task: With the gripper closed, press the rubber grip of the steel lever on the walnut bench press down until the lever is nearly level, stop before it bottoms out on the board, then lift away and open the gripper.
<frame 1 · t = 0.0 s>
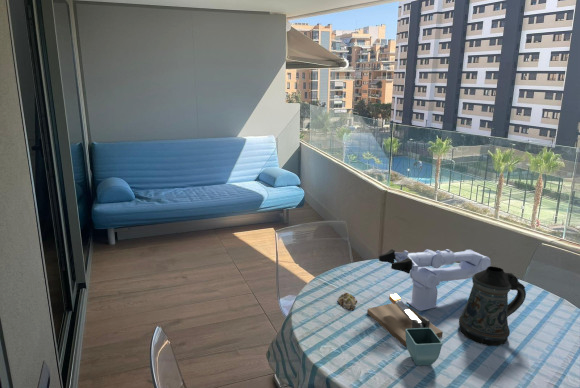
hand: (385, 262, 148), 22 cm above the table, tool horizontal, fingers open, 7 cm apart
beer stein: (485, 332, 142), on the table
flower pot: (420, 361, 126), on the table
press lever: (406, 311, 143), point 6 cm above the table, hinge at 12.0°
mineral rock: (347, 304, 161), on the table
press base: (402, 324, 146), on the table
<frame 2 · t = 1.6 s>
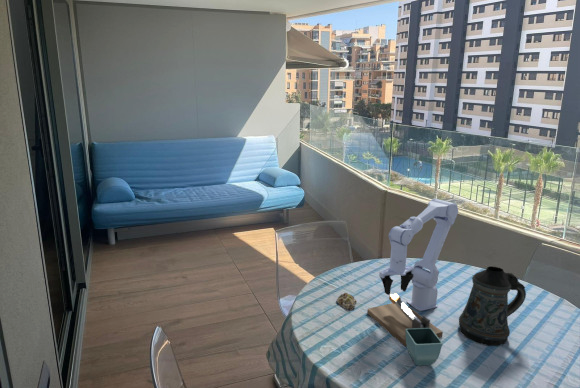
hand: (395, 292, 149), 10 cm above the table, tool pointing down, fingers open, 7 cm apart
nothing on the table moved.
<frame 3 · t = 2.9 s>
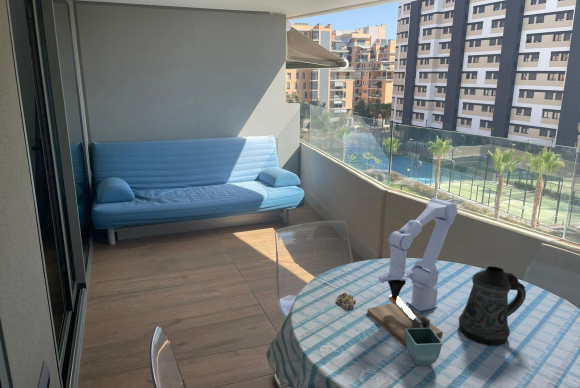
hand: (394, 296, 149), 8 cm above the table, tool pointing down, fingers closed, pressing on press lever
press lever: (406, 311, 143), point 6 cm above the table, hinge at 11.2°, touching gripper
everything else where it was.
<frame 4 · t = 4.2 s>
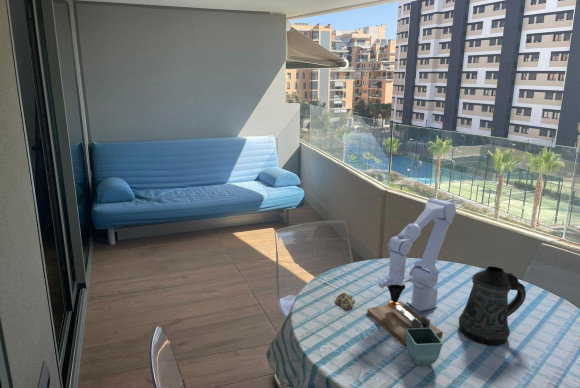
hand: (394, 301, 150), 6 cm above the table, tool pointing down, fingers closed
press lever: (406, 314, 144), point 5 cm above the table, hinge at 1.8°
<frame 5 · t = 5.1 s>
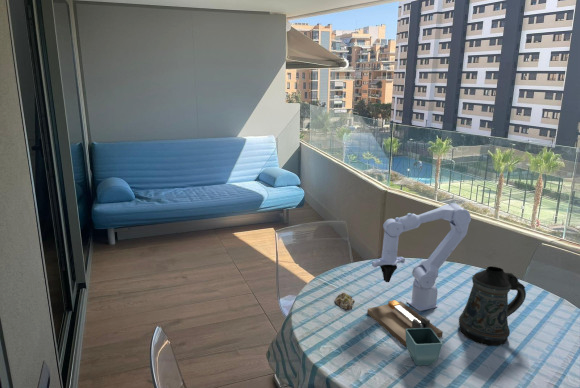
hand: (386, 281, 158), 10 cm above the table, tool pointing down, fingers closed
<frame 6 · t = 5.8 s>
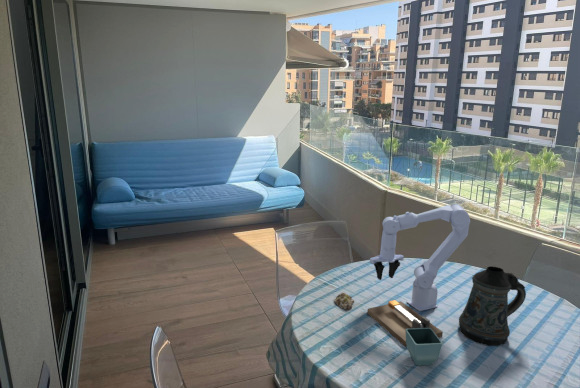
hand: (385, 278, 160), 10 cm above the table, tool pointing down, fingers open, 5 cm apart
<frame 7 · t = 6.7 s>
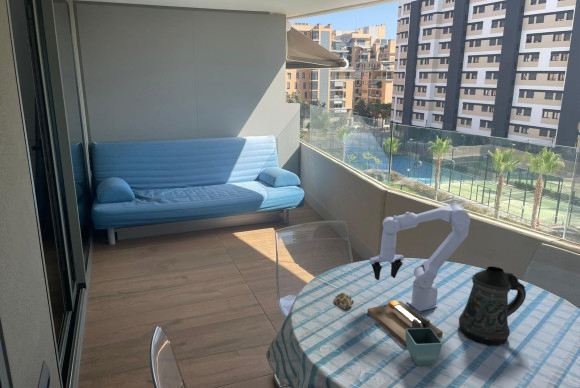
hand: (385, 278, 160), 10 cm above the table, tool pointing down, fingers open, 7 cm apart
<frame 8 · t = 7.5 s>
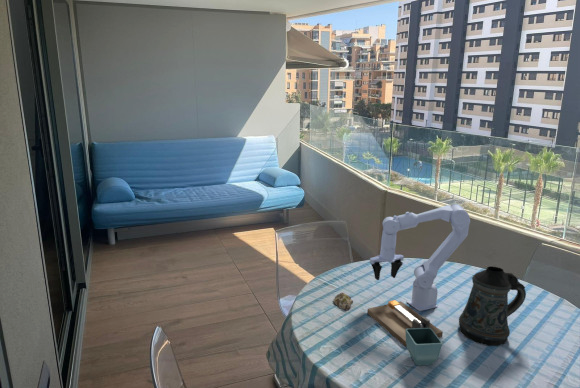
hand: (385, 278, 160), 10 cm above the table, tool pointing down, fingers open, 7 cm apart
at the end: press lever at +2° (first picture: +12°); the gripper is holding nothing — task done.
